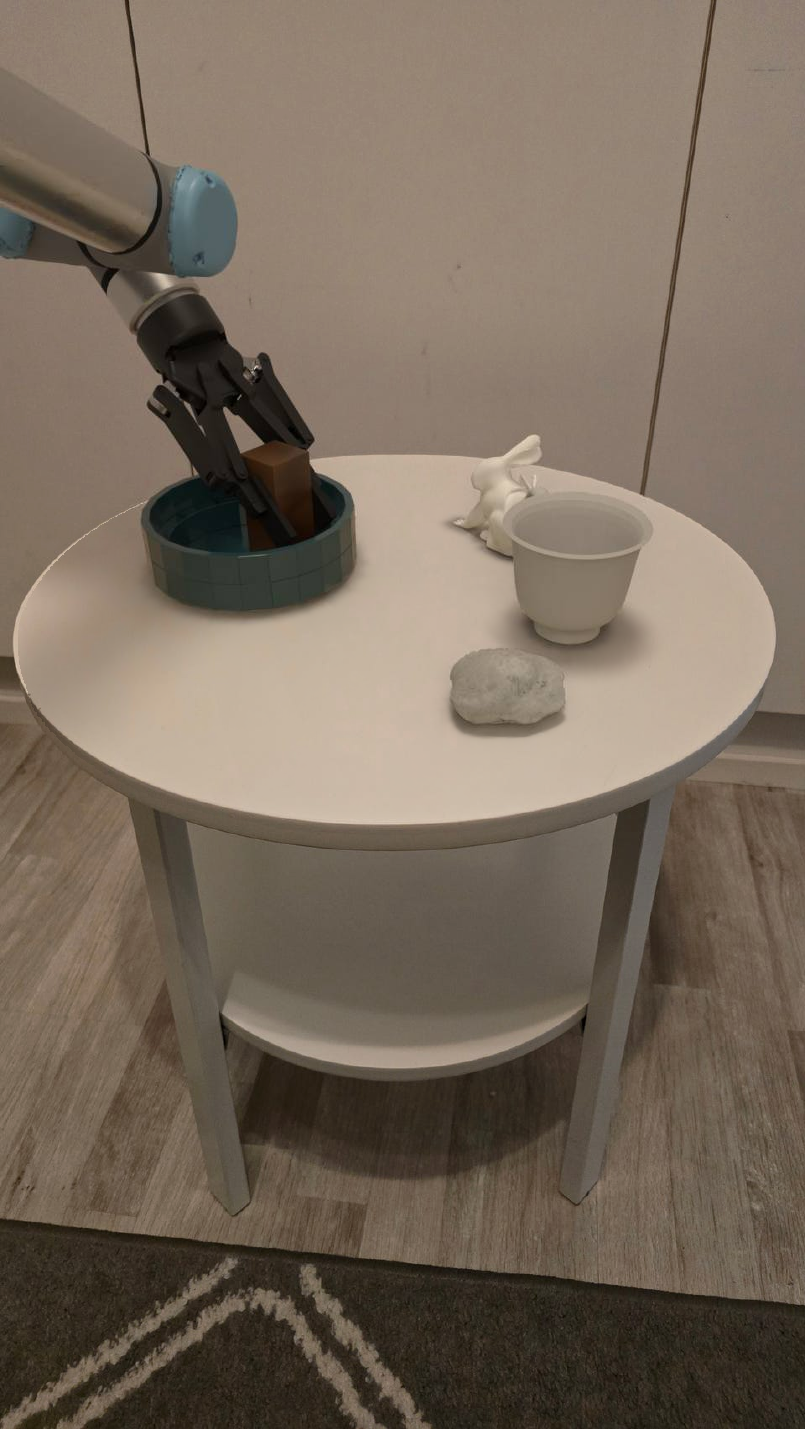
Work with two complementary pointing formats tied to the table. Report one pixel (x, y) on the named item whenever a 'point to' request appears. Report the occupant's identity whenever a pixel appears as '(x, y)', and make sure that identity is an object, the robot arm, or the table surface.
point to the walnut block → (282, 490)
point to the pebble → (506, 687)
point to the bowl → (240, 550)
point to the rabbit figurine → (501, 492)
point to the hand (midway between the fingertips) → (308, 532)
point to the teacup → (573, 559)
